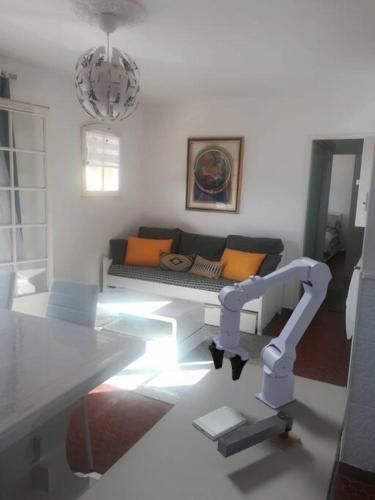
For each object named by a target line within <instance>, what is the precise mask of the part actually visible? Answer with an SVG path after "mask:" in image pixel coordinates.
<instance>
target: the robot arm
mask: <svg viewBox="0 0 375 500" xmlns="http://www.w3.org/2000/svg"><path fill="white" fill-rule="evenodd" d="M332 279H333V277H332V273H331V270H330V268H329V265H328V264H326V263H324V262H320V261H319V260H318V261H317V260H314V259H312V258H311V257H307V256H303V257H300V258H298V259H294V260H292V261H291V262H290V263H289V264H287V265H285V266H283V267H280V268H279V269H277V270H275V271H273V272H271V273H268V274H267V275H265V276H263V277H261V276H260V275H255V276H254V275H253V274H252V275H250V276H248V279H245V280H244V281H241V282H239V283H238V282H235V283H234V284H233V285H226V286H224V287H222V288H221V290H220V291H219V294H217V299H218V301H219V302H220V310H219V311H220V312H219V326H218V335H217V334H212V335H210V336H209V342H210V343H211V344H209V345H208V347H207V348H208V350H209V352H210V355H211V356H212V361H213V366H214V370H221V369H222V368H223V363H224V356H225V355H224V354H225V352H229V353H231V354H233V356H230V357H229V359H228V360H229V362H230V364H231V365H230V366H231V379H232V381H233V382H235V381H238V380H240V378H241V374H242V372H243V369H244V367H245V366H246V364H247V362H248V361H249V360H250V352H249V351H247V350H246V349H245V348H244V347H243V346H242V345H241V344H240V343H239V342H240V329H241V327H240V326H241V309H243V307H244V306H245V304H246V303H248V302H251V301H253V300H255V299H258V298H260V297H262V296H264V295H266V294H267V292H268V291H269V289H270V288H272V287H276V286H278V285H281V284H284V283H286V282H289V281H292V280H297V281H300V282H301V283H302V286H303V289H304V293H303V295H302V297H301V298H300V301H299V302H298V303H297V305H296V307H295V309H294V311H293V312H292V314H291V315H290V318H289V319H288V320H287V322H286V324H285V325H284V327H283V329H282V330H281V332H280V334H279V336H278V337H274V338H272V339H271V340H270V342H269V343H268V344H267V345H265V346H264V347H262V350H261V352H260V358H261V360H262V362H263V373H262V381H261V382H262V384H261V392H258V393H256V394H254V397H255V398H257V399H258V400H260V401H262V403H265V404H266V405H268V406H269V407H271V409H278V408H281V407H282V406H285V405H286V404H288V403H291V402H293V401H295V400H296V397H295V396H294V393H295V391H294V390H295V379H296V378H295V374H294V373H293V370H294V363H295V361H296V359H297V353H296V347H297V345H298V344H299V342H300V340H301V338H302V337H303V335H304V334H305V332H306V330H307V328H308V327H309V325H310V324H311V322H312V320H313V319H314V317H315V315H316V313H317V312H318V310H319V309H320V306H321V305H322V303H323V302H324V300H325V299H326V297H327V292H328V286H329V283H330V282H331V280H332Z"/></svg>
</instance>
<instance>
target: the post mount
mask: <svg viewBox="0 0 375 500" xmlns="http://www.w3.org/2000/svg"><path fill="white" fill-rule="evenodd" d="M268 440H270V441H271V442H273V443H274V444H276V445H277V446H278V447H279V448H281V449H282V450H283V451H285V450H286V451H287V450H288V449H290V448H292V446H295V445H297V444H298V443H300V442H301V440H302V439H301V437H300V436H299V435H297V434H296V433H294V432H293V431H292V430H291V431H288V432H283V433H281V434H278V435H276V436H274V437H272V438H269V439H268Z"/></svg>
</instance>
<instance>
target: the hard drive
mask: <svg viewBox="0 0 375 500" xmlns="http://www.w3.org/2000/svg"><path fill="white" fill-rule="evenodd" d="M246 423H247V419H246V417H244V416H243V415H241V414H239V413H238V412H236V411H235V410H233V409H232V408H230V407H228V406H227V405H224V406H221V407H219V408H218V409H215V410H213V411H211V412H209V413H207V414H205V415H202V416H201V417H198V418H197V419H194V420H192V421H191V424H192V426H194V427H195V428H196V429H197V430H198V431H200V432H201V433H203V434H204V435H205V436H206V437H208V438H209V439H210V440H212V441H215V440H217V439H218V438H220V437H222V436H225V435H227V434H229V432H231V431H233V430H236V429H237V428H239V427H240V426H242V425H244V424H246Z"/></svg>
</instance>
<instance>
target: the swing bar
mask: <svg viewBox="0 0 375 500" xmlns="http://www.w3.org/2000/svg"><path fill="white" fill-rule="evenodd" d="M293 424H294V415H293V414H292V413H291V412H289V411H285V410H280V411H278V412H277V413H276V414H273V415H272V416H269V417H267V418H263V419H261V420H260V421H257V422H255V423H252V424H250V425H247V426H245V427H243V428H240V429H238V430H235V431H233V432H230V433H226V434H224V435H222V436H220V437H218V438H217V449H216V450H217V451H218V453H220V455H222V457H224V458H225V459H227V458H229V457H231V456H233V455H235V454H238V453H241V452H243V451H245V450H247V449H250V448H251V447H253V446H256V445H258V444H261V443H262V442H265V441H267V440H270V439H269V438H272V437H274V436H276V435H278V434H281V433H283V432H288V431H291V432H292V431H293V428H294V427H293Z"/></svg>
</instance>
